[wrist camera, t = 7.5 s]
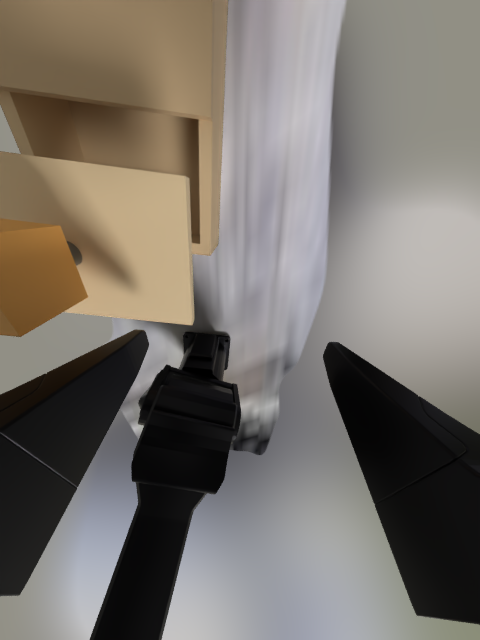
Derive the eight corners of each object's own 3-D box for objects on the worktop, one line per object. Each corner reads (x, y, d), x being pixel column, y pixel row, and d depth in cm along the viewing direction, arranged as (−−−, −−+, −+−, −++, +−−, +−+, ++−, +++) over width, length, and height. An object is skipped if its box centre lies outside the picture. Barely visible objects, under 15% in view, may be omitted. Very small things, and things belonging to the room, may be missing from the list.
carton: (218, 244, 18) (208, 257, 14) (100, 230, 18) (48, 238, 13) (229, -31, 10) (215, -228, 6) (14, -69, 10) (-196, -318, 5)
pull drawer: (194, 320, 11) (163, 389, 7) (2, 299, 11) (-153, 360, 7) (189, 178, 8) (114, 141, 3) (-108, 138, 7) (-650, 35, 3)
